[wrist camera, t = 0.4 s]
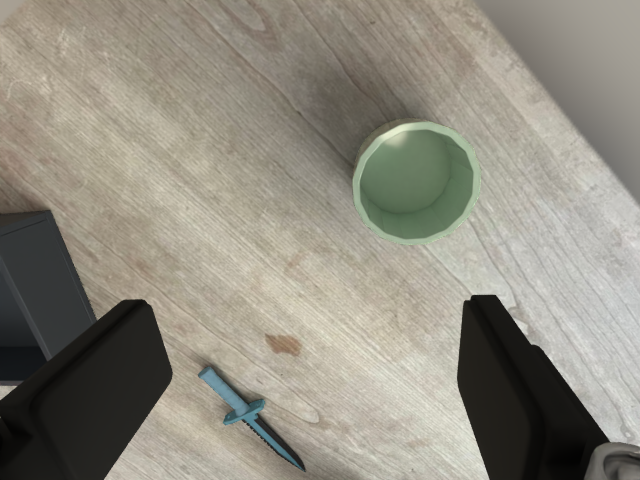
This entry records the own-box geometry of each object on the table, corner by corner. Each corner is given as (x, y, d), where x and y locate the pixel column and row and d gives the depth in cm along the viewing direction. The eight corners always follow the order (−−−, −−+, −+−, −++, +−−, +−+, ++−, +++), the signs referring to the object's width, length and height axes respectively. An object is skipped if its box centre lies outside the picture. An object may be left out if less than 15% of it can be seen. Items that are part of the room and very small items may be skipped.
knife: (324, 472, 35) (287, 484, 37) (324, 460, 36) (288, 472, 38) (219, 367, 30) (181, 386, 32) (223, 357, 31) (186, 376, 33)
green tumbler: (351, 123, 22) (348, 129, 17) (456, 112, 21) (485, 114, 16) (357, 218, 25) (356, 247, 20) (452, 212, 24) (476, 241, 19)
